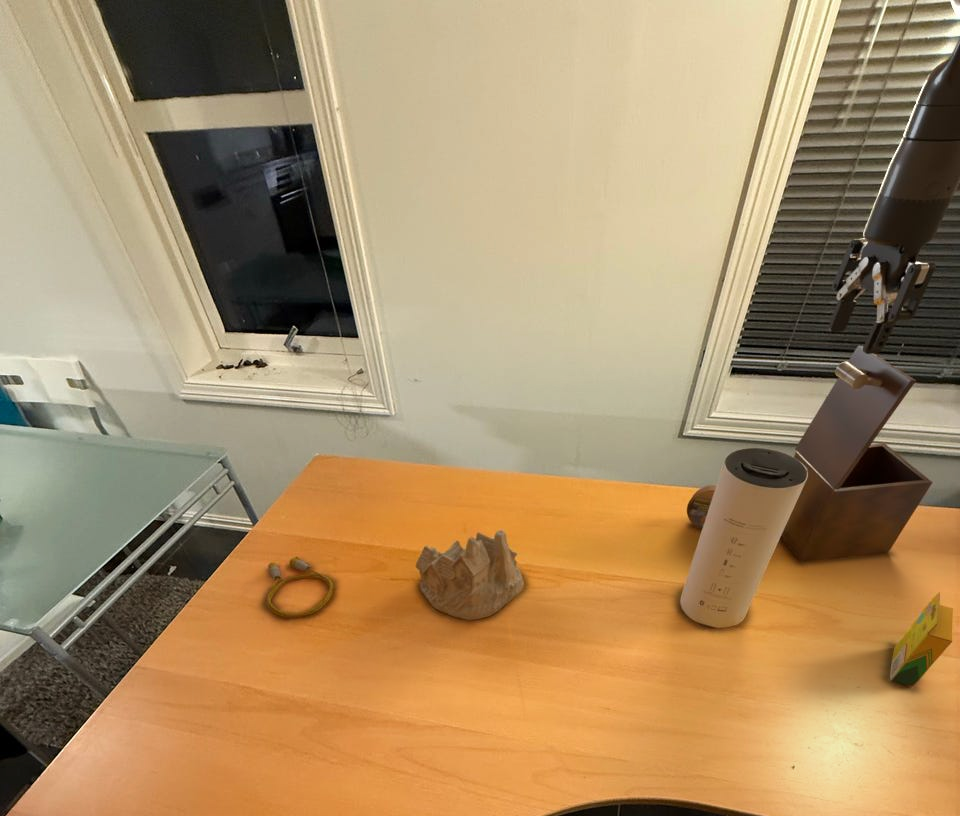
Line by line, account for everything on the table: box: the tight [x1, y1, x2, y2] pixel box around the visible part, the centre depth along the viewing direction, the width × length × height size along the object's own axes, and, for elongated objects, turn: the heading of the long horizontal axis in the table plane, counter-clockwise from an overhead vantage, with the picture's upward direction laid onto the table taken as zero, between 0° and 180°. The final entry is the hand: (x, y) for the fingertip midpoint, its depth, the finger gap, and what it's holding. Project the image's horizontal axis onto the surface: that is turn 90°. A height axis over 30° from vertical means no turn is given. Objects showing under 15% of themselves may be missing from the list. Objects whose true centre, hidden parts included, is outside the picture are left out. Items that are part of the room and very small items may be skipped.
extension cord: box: [266, 556, 334, 618], centre depth 97 cm, size 12×16×2 cm
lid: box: [794, 345, 917, 489], centre depth 83 cm, size 17×13×5 cm
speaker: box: [679, 447, 808, 629], centre depth 80 cm, size 11×10×26 cm
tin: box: [686, 484, 717, 530], centre depth 100 cm, size 15×3×8 cm, turn 62°
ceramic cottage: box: [415, 529, 525, 621], centre depth 91 cm, size 16×16×15 cm
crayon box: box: [889, 591, 954, 688], centre depth 75 cm, size 7×3×12 cm, turn 149°
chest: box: [780, 442, 933, 563], centre depth 95 cm, size 16×13×14 cm
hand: (852, 341), depth 75 cm, fingers open, 8 cm apart
